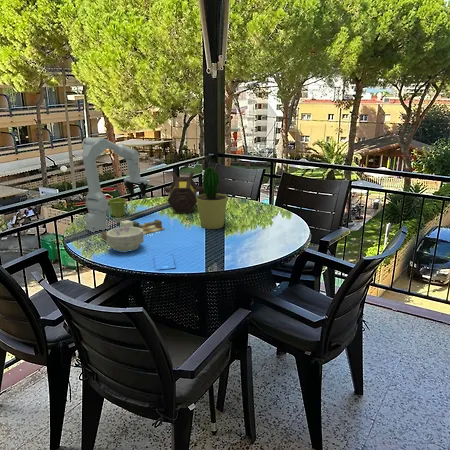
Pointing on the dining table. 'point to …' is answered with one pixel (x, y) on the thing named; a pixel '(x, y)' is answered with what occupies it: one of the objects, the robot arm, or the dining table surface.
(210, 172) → the potted cactus
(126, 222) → the pale sage cube
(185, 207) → the lantern
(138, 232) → the paper bowls
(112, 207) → the plant pot
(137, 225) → the bracket
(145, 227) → the pipe stand
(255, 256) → the dining table surface
